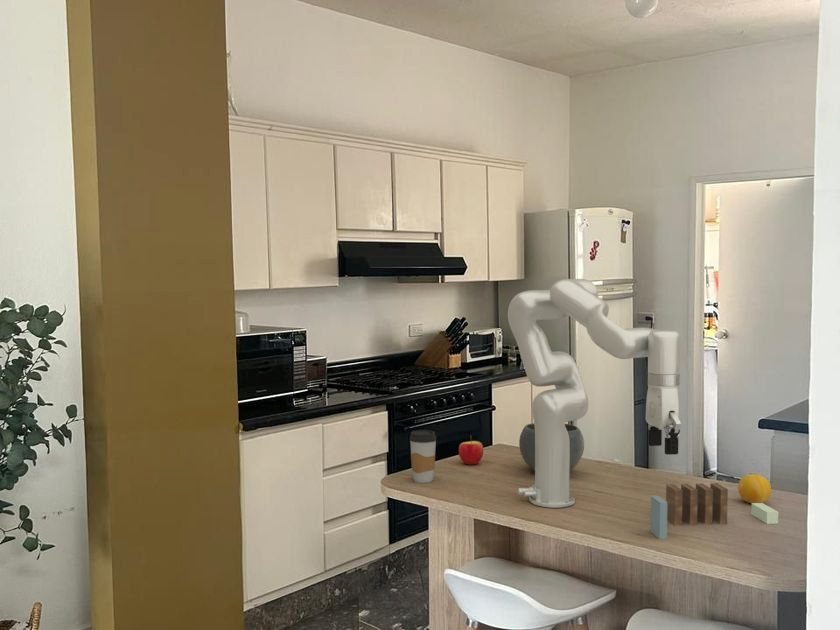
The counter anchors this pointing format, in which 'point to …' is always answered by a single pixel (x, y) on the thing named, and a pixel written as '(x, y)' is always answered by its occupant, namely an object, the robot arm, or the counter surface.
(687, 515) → the domino
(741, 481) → the fruit
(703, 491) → the domino
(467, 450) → the apple
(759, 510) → the block
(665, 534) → the domino
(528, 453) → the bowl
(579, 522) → the counter surface
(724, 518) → the domino
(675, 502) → the domino
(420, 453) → the coffee cup
